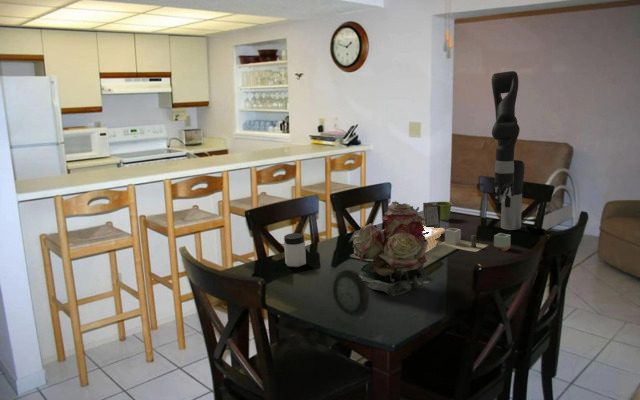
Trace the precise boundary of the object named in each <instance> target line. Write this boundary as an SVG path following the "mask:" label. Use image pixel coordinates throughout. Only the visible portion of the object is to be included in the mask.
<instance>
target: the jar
mask: <svg viewBox="0 0 640 400" xmlns="http://www.w3.org/2000/svg"><path fill="white" fill-rule="evenodd" d="M283 239H284V242H283V245H284V246H283V248H284V264H286V266H287V267H292V268H293V267H294V268H299V267H303V266H304V265H307V258H306V257H307V256H306V255H307V254H306V253H307V252H306V242H305V235H304V234H303V233H301V232H300V233H299V232H294V233H287V234H284V237H283Z"/></svg>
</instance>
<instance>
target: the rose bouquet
mask: <svg viewBox="0 0 640 400" xmlns="http://www.w3.org/2000/svg"><path fill="white" fill-rule="evenodd" d="M419 210H420V207H419V206H417V207H416V208H414V206H413V205H410V204H408V203H399V202H398V201H392V202H391V204H390V205H388V208H387V212H384V214H382V222H383V224H384V228H383V229H380V228H377V227H375V226H374V225H373V223H368V224H367V225H364V226H361V228H360V229H359V231H358V233H357V234H355V235H353V236H352V238H353V239H352V242H353V244H352V248H353V253H354V256H356V257H358V258H359V262H362V261H363V260H369V261H368V263H366V264H364V265H363V266H362V268H360V272H359V274H358V277H359V278H360V280H361V281H363V282H367V283H368V284H367V287H368V288H370V289H372V290H376V291H382V292H384V293H386V294H387V295H388V296H391V297H394V296H399V295H403V294H406V293H408V292H409V291H411V290H412V291H413V290H417V289H424V288H425V287H424V286H421V285H422V284H429V283H431V281H430V276H429V275H428V274H427V273H426V271H425V269H424V266H425V264H426V263H427V258H426V252H427V248H428V244H429V243H428V242H429V241H428V240H427V238H426V237H425V234H428V233H429V232H426V233H423V231H425V230H424V228H423V227H424V226H423V220H425V221H426V218H425V217H423V215H419V214H418V211H419ZM422 282H423V283H422Z"/></svg>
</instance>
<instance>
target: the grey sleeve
mask: <svg viewBox="0 0 640 400" xmlns="http://www.w3.org/2000/svg"><path fill="white" fill-rule="evenodd" d="M461 240H462V229H461V228H457V227H456V228H454V227H449V228H447V229H445V230H444V241H445V243H446V244H451V245H456V244H459V243H461Z"/></svg>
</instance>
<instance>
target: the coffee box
mask: <svg viewBox="0 0 640 400" xmlns="http://www.w3.org/2000/svg"><path fill="white" fill-rule="evenodd" d="M437 202H438V201H432V202H431V201H430V202H423V203H422V217H425V218H426V221H425V220H423V221H422V224H423V225H424V226H426V227H434V228H440V229H441V220H440V205H439V204H438V203H437Z"/></svg>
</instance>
